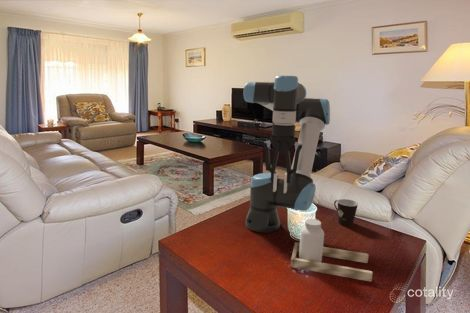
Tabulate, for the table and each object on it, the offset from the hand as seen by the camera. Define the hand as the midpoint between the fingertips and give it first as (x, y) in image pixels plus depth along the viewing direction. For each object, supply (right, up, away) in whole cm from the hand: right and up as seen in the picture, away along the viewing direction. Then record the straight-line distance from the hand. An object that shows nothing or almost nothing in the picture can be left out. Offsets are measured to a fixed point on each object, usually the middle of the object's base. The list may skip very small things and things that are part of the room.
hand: (279, 191), depth 108 cm
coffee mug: (+35, -18, +35) cm, 53 cm away
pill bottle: (+11, -25, +2) cm, 27 cm away
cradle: (+18, -25, 0) cm, 31 cm away
